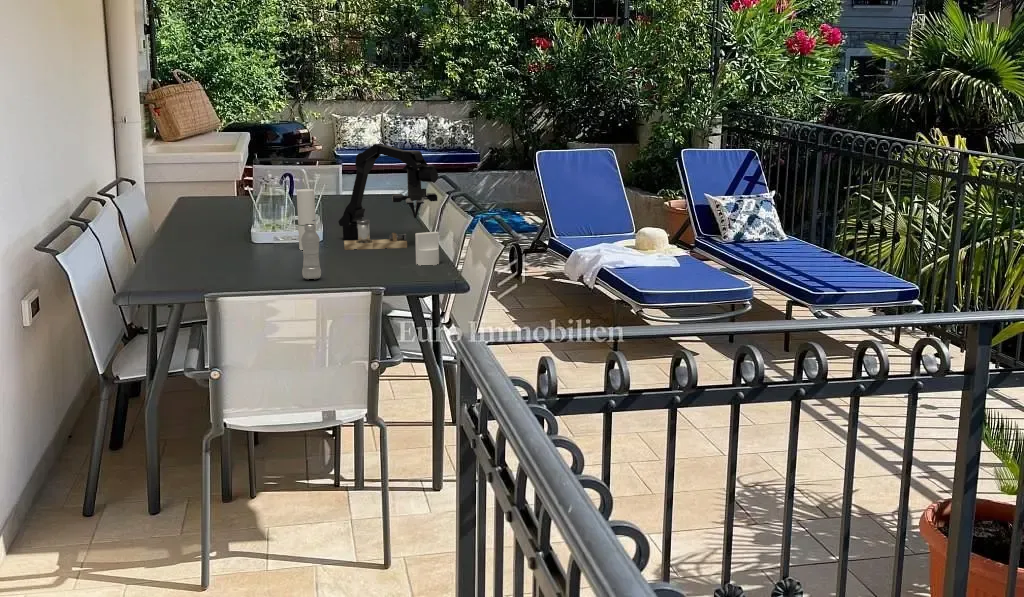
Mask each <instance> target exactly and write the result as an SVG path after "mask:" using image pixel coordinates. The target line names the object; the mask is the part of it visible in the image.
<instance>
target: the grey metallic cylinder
mask: <svg viewBox="0 0 1024 597" xmlns="http://www.w3.org/2000/svg"><path fill="white" fill-rule="evenodd" d="M357 223H358V224H357V228H358V239H357V240H358V243H370V240H371V236H370V235H371V234H370V233H371V232H370V224H371V221H370V219H361V220H357Z"/></svg>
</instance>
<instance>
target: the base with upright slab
mask: <svg viewBox="0 0 1024 597" xmlns="http://www.w3.org/2000/svg"><path fill="white" fill-rule="evenodd" d="M414 236H415V265H417V264H418V265H417V266H421V265H433V266H437V264H438V265H439V264H440V250H439V249H440V248H439V247H440V242H439V241H440V240H439V232H438V231H427V232H416V233H415V235H414Z"/></svg>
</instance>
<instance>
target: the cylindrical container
mask: <svg viewBox="0 0 1024 597" xmlns="http://www.w3.org/2000/svg"><path fill="white" fill-rule="evenodd" d="M296 204H297V205H296V206H297V208H296V209H297V225H298V226H297V227H298V228H297V229H298V247H299V249H300V250H303V248H302V242H301V238H302V236H303V234H304V232H305V230H304V225H305V224H315V232H316V233H317V221H316V198H315V189H311V188H302V189H297V190H296ZM300 250H299V251H300Z"/></svg>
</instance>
